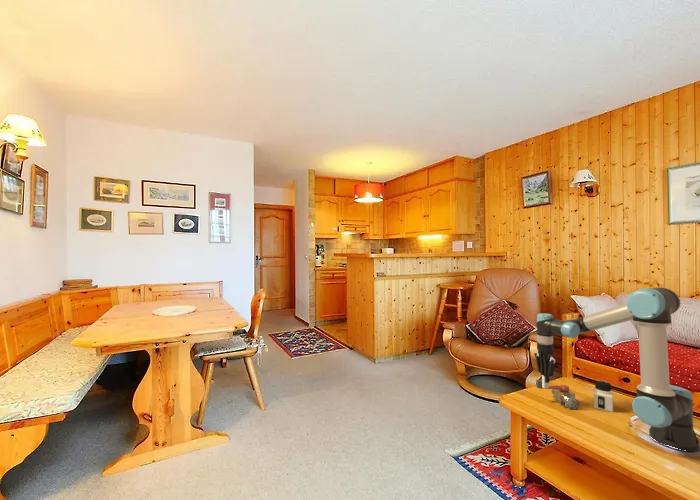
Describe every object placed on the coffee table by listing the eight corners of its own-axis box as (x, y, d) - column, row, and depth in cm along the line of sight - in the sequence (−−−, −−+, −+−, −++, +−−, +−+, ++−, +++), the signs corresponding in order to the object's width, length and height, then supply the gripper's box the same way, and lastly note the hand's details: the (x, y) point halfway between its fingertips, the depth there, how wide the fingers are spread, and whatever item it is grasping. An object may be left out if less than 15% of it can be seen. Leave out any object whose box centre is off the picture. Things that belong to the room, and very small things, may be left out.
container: (613, 412, 164) (612, 386, 164) (593, 408, 169) (593, 382, 169) (612, 406, 170) (612, 381, 170) (594, 402, 175) (593, 378, 175)
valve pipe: (580, 410, 166) (579, 397, 167) (565, 409, 168) (564, 396, 168) (564, 396, 182) (564, 384, 182) (550, 395, 183) (550, 384, 183)
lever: (566, 388, 177) (566, 380, 177) (570, 391, 173) (570, 383, 173) (535, 386, 179) (535, 379, 179) (538, 389, 175) (538, 381, 175)
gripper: (561, 346, 169) (561, 392, 169) (541, 339, 182) (542, 382, 182) (548, 346, 168) (549, 393, 167) (529, 340, 180) (530, 383, 180)
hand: (545, 387), depth 174 cm, fingers closed
